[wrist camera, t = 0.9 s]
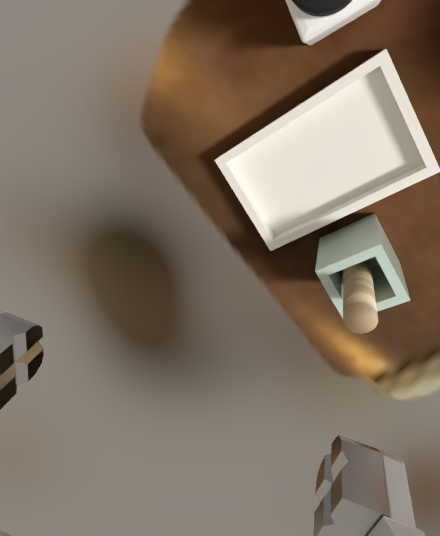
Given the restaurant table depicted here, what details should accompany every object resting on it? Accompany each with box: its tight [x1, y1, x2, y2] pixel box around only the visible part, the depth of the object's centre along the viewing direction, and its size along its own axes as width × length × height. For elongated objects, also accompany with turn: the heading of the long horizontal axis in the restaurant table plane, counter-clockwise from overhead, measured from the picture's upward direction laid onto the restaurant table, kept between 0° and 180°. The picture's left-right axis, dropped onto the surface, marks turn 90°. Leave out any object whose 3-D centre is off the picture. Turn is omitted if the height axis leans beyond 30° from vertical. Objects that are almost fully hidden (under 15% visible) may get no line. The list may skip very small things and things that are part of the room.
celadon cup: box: [315, 213, 410, 318], centre depth 44 cm, size 7×7×9 cm
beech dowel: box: [343, 259, 378, 333], centre depth 41 cm, size 3×3×14 cm
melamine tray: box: [215, 49, 440, 251], centre depth 43 cm, size 20×13×2 cm, turn 125°
